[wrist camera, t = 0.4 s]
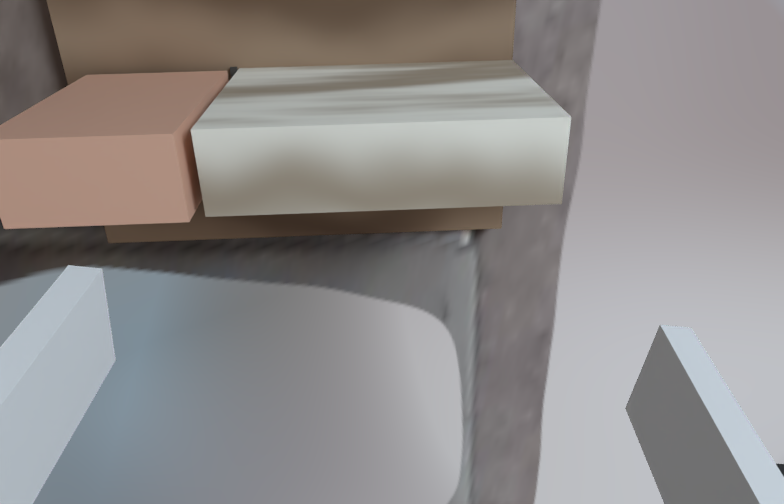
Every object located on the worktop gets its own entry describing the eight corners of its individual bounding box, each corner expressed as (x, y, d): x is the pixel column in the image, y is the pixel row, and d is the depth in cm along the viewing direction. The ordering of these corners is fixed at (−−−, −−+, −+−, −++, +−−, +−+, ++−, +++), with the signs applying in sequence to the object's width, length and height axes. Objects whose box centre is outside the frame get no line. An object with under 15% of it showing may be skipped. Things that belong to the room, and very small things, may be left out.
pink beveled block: (86, 74, 37) (-26, 140, 26) (227, 70, 37) (172, 133, 26) (102, 142, 39) (4, 229, 28) (236, 137, 39) (189, 222, 28)
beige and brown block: (43, -63, 35) (-121, -50, 23) (515, -74, 36) (591, -68, 24) (116, 233, 44) (23, 353, 32) (497, 218, 44) (547, 331, 32)
